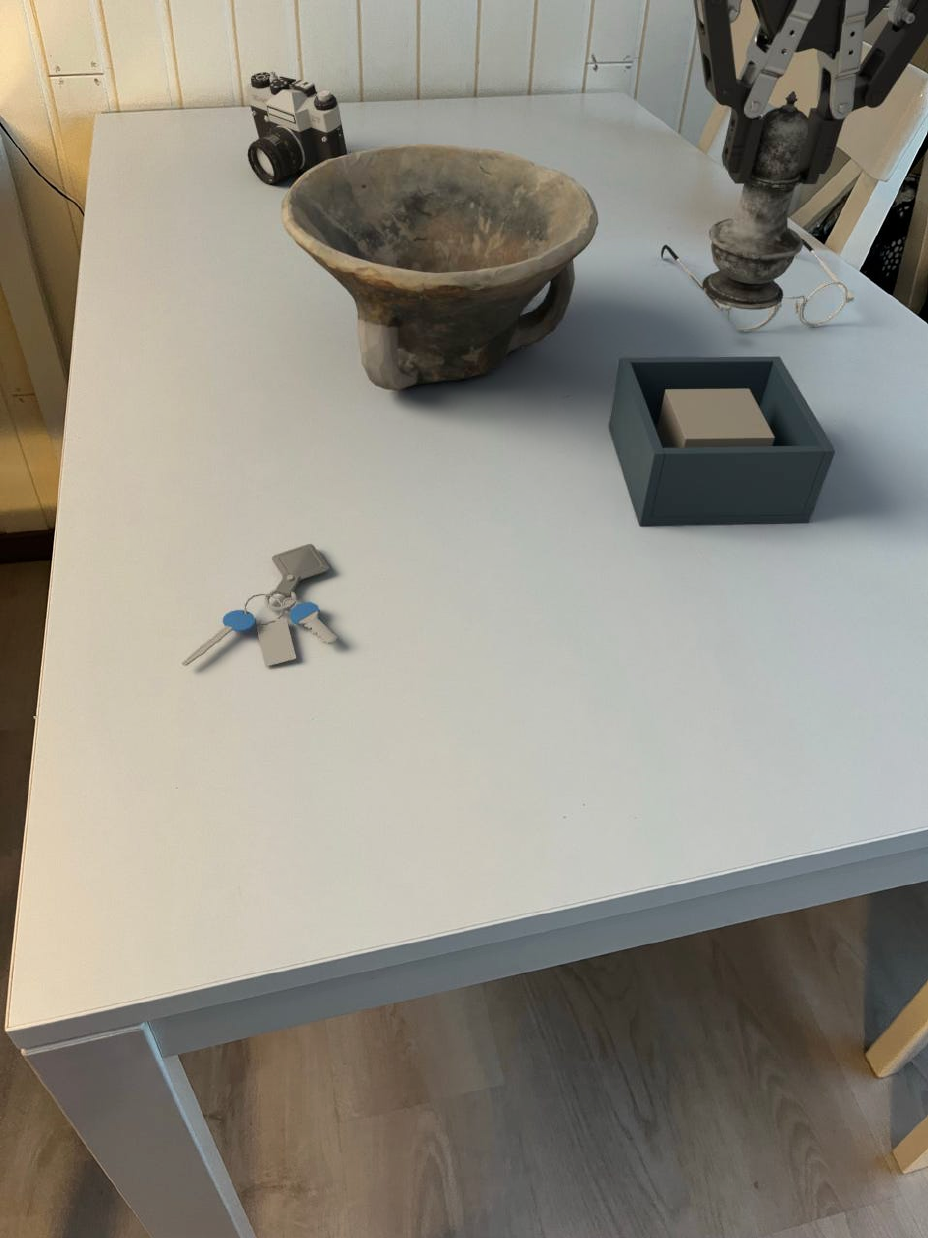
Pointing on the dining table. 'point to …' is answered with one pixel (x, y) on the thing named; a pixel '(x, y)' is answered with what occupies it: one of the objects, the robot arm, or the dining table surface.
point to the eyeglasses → (775, 309)
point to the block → (712, 419)
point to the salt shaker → (761, 218)
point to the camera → (292, 126)
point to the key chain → (280, 610)
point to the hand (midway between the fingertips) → (771, 177)
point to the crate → (718, 476)
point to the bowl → (442, 253)
